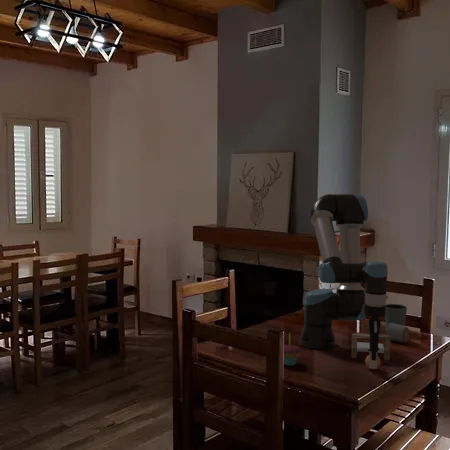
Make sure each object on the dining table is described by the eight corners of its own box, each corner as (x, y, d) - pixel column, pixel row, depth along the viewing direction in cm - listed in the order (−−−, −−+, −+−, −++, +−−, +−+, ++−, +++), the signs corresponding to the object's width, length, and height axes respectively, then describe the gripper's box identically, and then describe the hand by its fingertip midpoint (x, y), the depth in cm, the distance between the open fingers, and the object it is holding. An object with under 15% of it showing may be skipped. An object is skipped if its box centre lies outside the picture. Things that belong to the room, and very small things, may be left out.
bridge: (389, 360, 212) (390, 337, 212) (351, 357, 215) (352, 334, 215) (388, 357, 215) (389, 335, 215) (351, 355, 218) (351, 332, 217)
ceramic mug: (404, 344, 234) (404, 327, 233) (385, 341, 239) (386, 324, 238) (411, 339, 242) (412, 322, 242) (393, 336, 247) (394, 320, 247)
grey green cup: (410, 332, 254) (411, 307, 253) (396, 335, 249) (396, 309, 248) (393, 327, 263) (393, 302, 262) (378, 330, 257) (379, 305, 256)
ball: (365, 366, 199) (365, 351, 201) (364, 370, 203) (364, 356, 206) (381, 367, 198) (381, 352, 200) (380, 371, 202) (379, 357, 205)
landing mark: (352, 351, 224) (352, 350, 224) (351, 342, 237) (351, 341, 237) (385, 353, 221) (385, 352, 221) (382, 344, 234) (382, 343, 234)
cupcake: (277, 359, 211) (278, 329, 211) (299, 360, 211) (300, 330, 210) (279, 367, 203) (279, 335, 202) (301, 367, 203) (302, 336, 202)
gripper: (387, 309, 190) (385, 375, 191) (384, 301, 202) (382, 363, 204) (365, 307, 191) (363, 373, 193) (363, 300, 204) (361, 361, 206)
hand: (372, 367), depth 199 cm, fingers closed
